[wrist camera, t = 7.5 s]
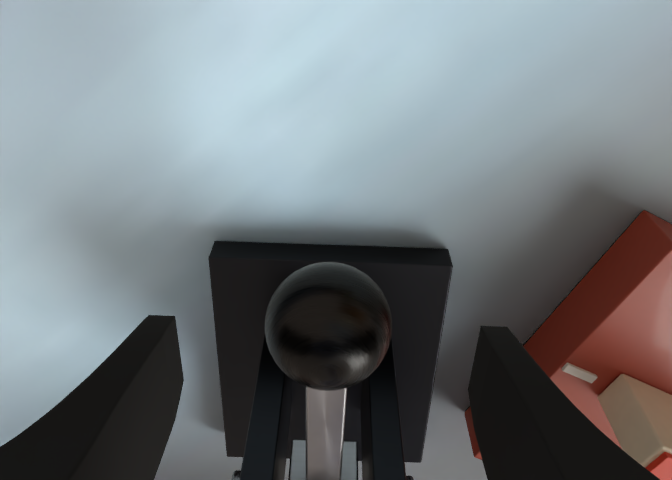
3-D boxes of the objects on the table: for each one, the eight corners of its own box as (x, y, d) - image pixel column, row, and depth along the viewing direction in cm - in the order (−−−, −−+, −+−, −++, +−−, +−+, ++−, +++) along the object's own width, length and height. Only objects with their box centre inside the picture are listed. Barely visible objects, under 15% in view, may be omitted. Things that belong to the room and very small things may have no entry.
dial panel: (616, 471, 30) (639, 521, 28) (463, 412, 28) (474, 460, 26) (817, 299, 24) (866, 343, 22) (643, 209, 22) (677, 247, 20)
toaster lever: (269, 234, 15) (253, 323, 13) (393, 238, 15) (403, 328, 13) (280, 473, 22) (271, 564, 20) (366, 476, 22) (369, 566, 20)
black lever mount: (214, 240, 23) (151, 417, 16) (448, 248, 23) (498, 428, 16) (230, 436, 29) (191, 635, 21) (418, 442, 29) (444, 642, 21)
